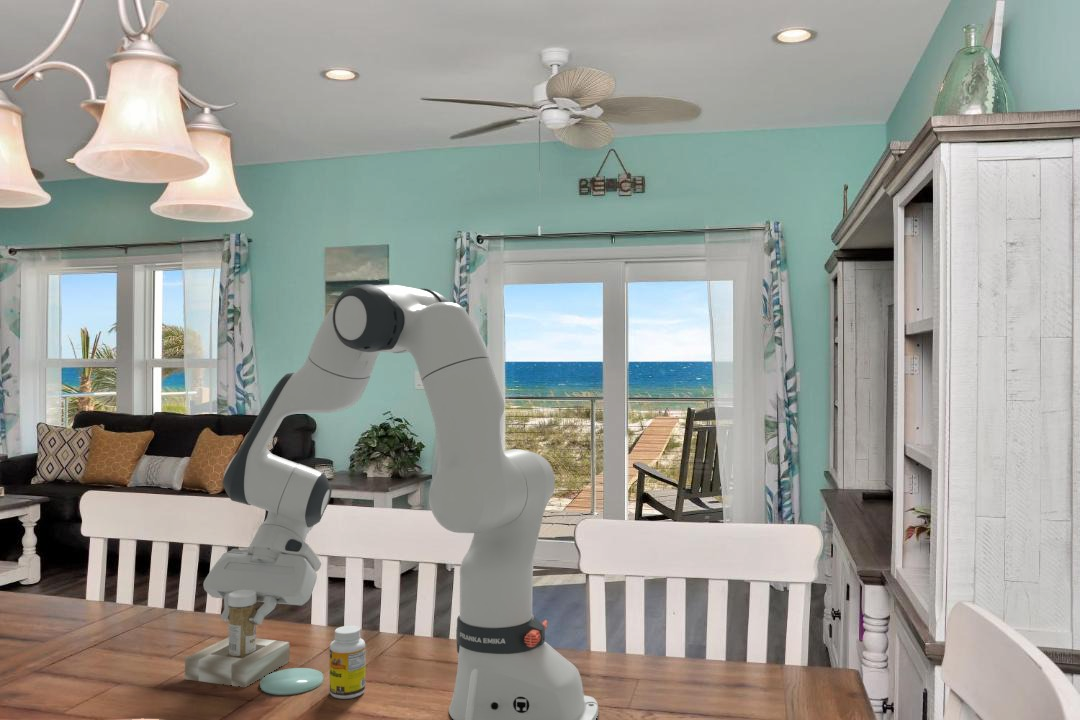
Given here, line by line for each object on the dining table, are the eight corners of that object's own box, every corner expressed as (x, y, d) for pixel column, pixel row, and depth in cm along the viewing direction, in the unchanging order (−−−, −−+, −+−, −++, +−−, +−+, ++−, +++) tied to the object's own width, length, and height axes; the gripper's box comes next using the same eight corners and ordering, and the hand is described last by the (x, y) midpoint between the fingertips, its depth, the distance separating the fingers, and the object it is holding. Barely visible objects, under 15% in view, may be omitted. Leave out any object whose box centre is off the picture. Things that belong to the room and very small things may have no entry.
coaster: (334, 675, 140) (334, 671, 140) (300, 698, 130) (300, 694, 130) (284, 668, 143) (284, 665, 143) (246, 690, 134) (246, 686, 134)
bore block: (289, 661, 146) (289, 642, 146) (245, 687, 135) (245, 666, 135) (232, 654, 150) (232, 635, 150) (185, 679, 138) (184, 658, 138)
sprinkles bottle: (259, 672, 142) (259, 593, 141) (231, 677, 139) (231, 597, 139) (252, 663, 145) (252, 587, 145) (225, 668, 143) (225, 590, 143)
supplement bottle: (324, 692, 133) (323, 628, 133) (356, 683, 136) (356, 621, 136) (338, 703, 129) (338, 637, 129) (371, 694, 132) (371, 630, 132)
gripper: (218, 538, 152) (180, 607, 143) (315, 545, 146) (282, 617, 136) (234, 557, 156) (198, 625, 147) (329, 564, 150) (298, 636, 141)
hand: (240, 621), depth 141 cm, fingers closed on sprinkles bottle, 4 cm apart
